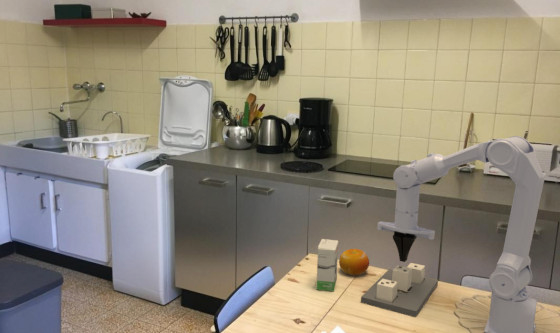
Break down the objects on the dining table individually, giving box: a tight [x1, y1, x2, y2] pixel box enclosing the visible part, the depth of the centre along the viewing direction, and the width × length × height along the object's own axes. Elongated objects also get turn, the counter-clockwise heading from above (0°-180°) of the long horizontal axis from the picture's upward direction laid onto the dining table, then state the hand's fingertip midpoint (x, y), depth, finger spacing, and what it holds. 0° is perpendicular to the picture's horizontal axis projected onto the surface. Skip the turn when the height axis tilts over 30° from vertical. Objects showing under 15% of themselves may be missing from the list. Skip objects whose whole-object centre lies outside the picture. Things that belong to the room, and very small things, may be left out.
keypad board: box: [360, 268, 439, 318], centre depth 126 cm, size 14×22×2 cm, turn 149°
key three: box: [376, 279, 398, 303], centre depth 120 cm, size 4×4×5 cm
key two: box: [392, 264, 412, 292], centre depth 125 cm, size 4×4×5 cm
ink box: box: [316, 238, 339, 292], centre depth 130 cm, size 9×5×12 cm, turn 168°
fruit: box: [338, 248, 370, 276], centre depth 139 cm, size 8×8×8 cm
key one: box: [406, 262, 426, 284], centre depth 131 cm, size 4×4×5 cm
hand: (403, 260), depth 125 cm, fingers closed
